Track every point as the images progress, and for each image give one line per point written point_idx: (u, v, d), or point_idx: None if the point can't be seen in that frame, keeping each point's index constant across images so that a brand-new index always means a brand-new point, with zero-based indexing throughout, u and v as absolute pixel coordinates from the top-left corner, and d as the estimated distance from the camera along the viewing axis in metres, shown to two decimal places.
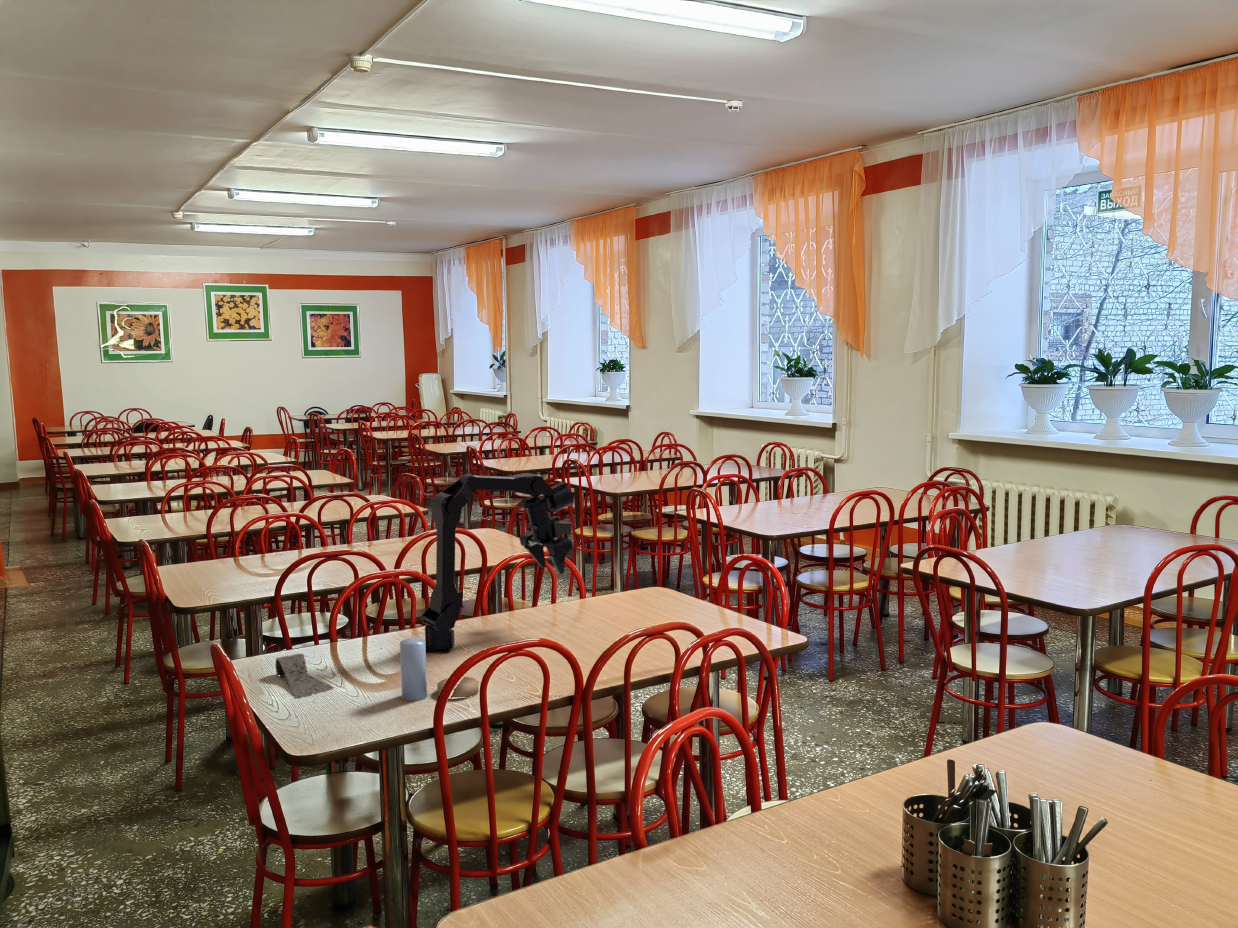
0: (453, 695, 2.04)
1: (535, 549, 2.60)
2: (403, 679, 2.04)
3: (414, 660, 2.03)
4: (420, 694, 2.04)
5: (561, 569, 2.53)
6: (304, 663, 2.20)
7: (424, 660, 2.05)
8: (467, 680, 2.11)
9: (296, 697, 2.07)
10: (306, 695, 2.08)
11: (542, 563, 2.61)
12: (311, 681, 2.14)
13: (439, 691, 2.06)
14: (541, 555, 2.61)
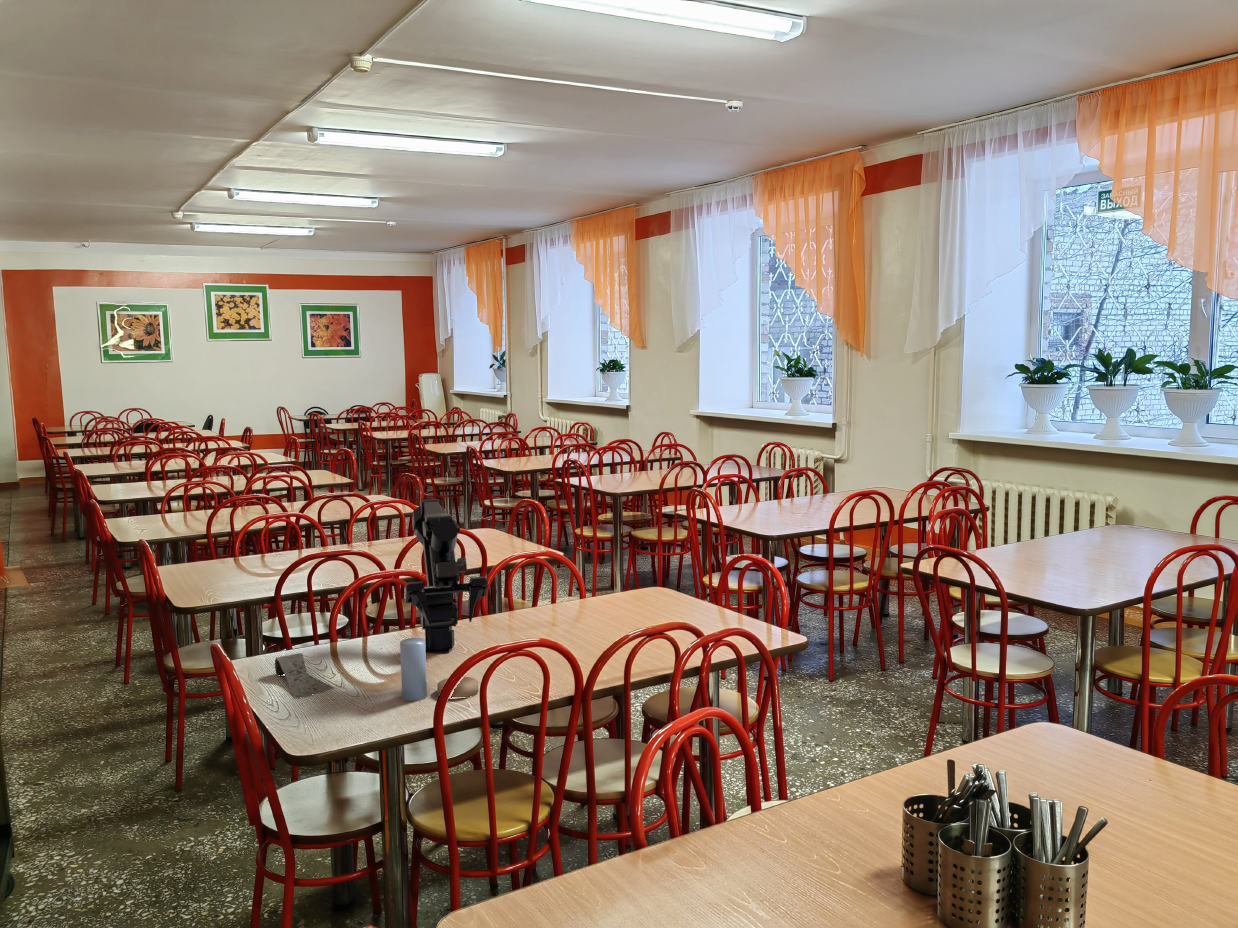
0: (453, 695, 2.04)
1: None
2: (403, 679, 2.04)
3: (414, 660, 2.03)
4: (420, 694, 2.04)
5: (426, 619, 2.13)
6: (303, 663, 2.20)
7: (424, 660, 2.05)
8: (467, 680, 2.11)
9: (295, 696, 2.07)
10: (305, 695, 2.08)
11: (469, 616, 2.16)
12: (310, 681, 2.14)
13: (439, 691, 2.06)
14: (469, 607, 2.17)
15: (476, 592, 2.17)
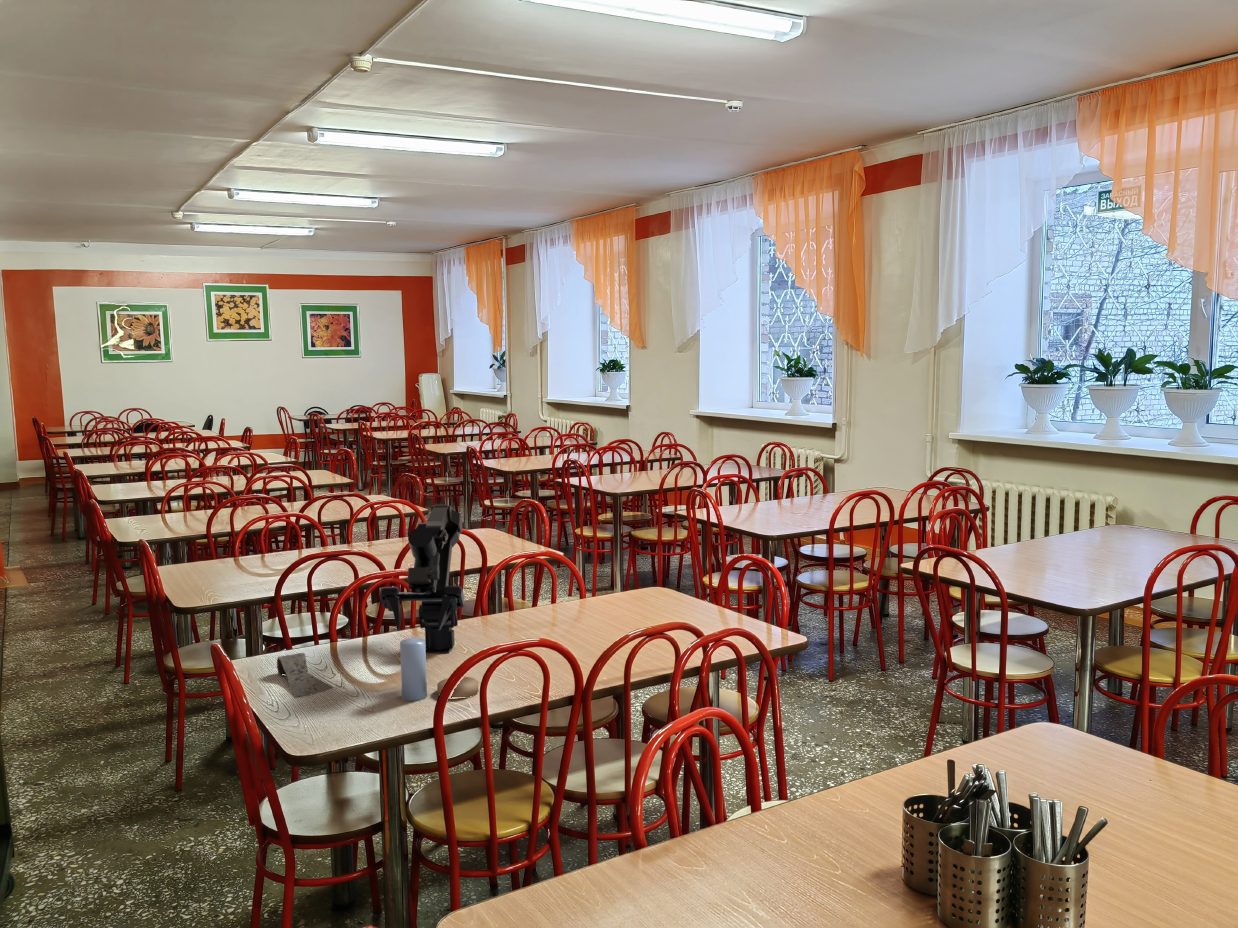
0: (453, 695, 2.04)
1: None
2: (403, 679, 2.04)
3: (414, 660, 2.03)
4: (420, 694, 2.04)
5: (396, 624, 2.13)
6: (305, 662, 2.20)
7: (424, 660, 2.05)
8: (467, 680, 2.11)
9: (295, 696, 2.07)
10: (305, 694, 2.08)
11: None
12: (311, 680, 2.14)
13: (439, 691, 2.06)
14: None
15: (448, 600, 2.14)
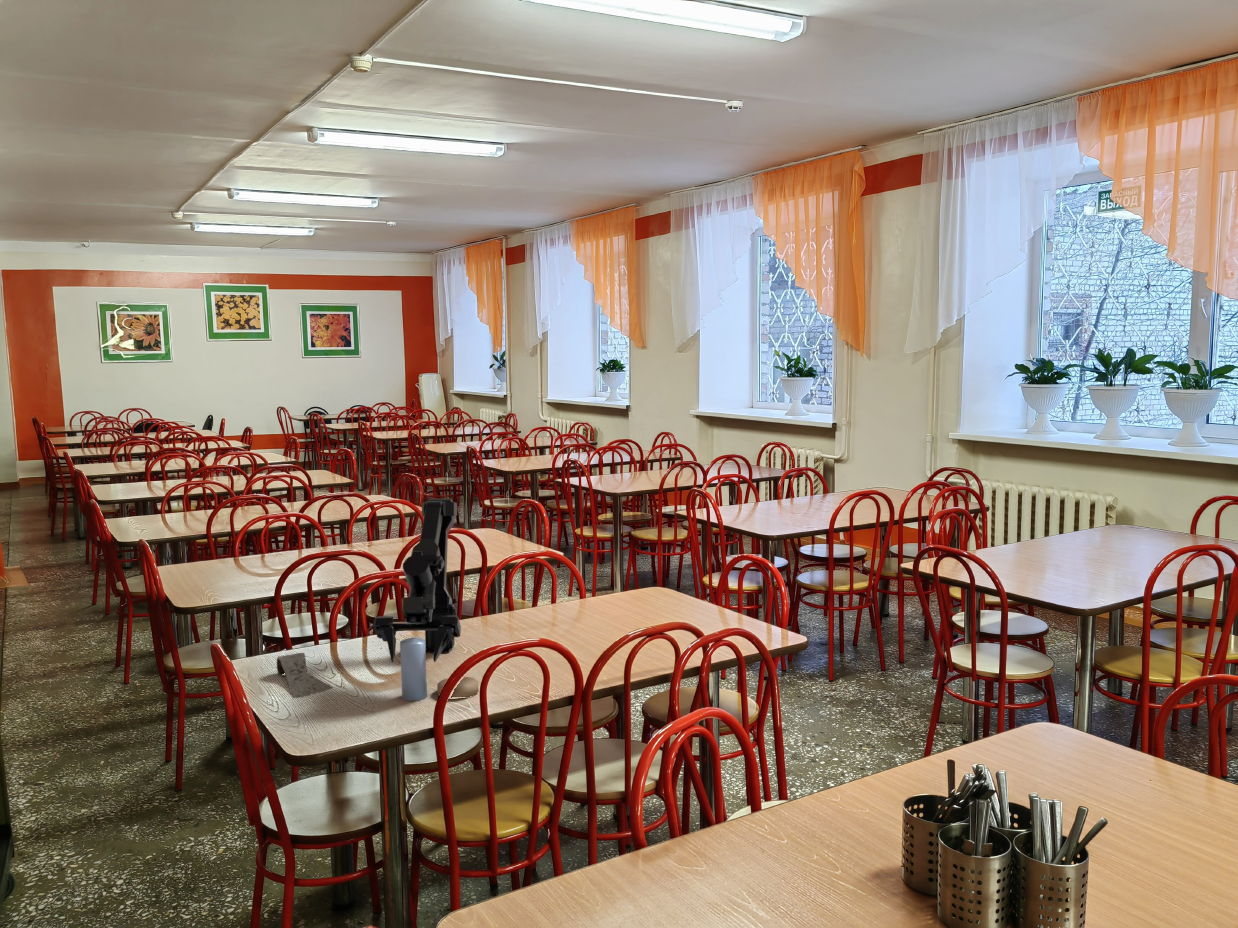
0: (453, 695, 2.04)
1: None
2: (403, 679, 2.04)
3: (414, 660, 2.03)
4: (420, 694, 2.04)
5: None
6: (304, 662, 2.21)
7: (424, 660, 2.05)
8: (467, 680, 2.11)
9: (294, 696, 2.07)
10: (304, 694, 2.08)
11: None
12: (310, 680, 2.14)
13: (439, 691, 2.06)
14: None
15: (444, 630, 2.08)
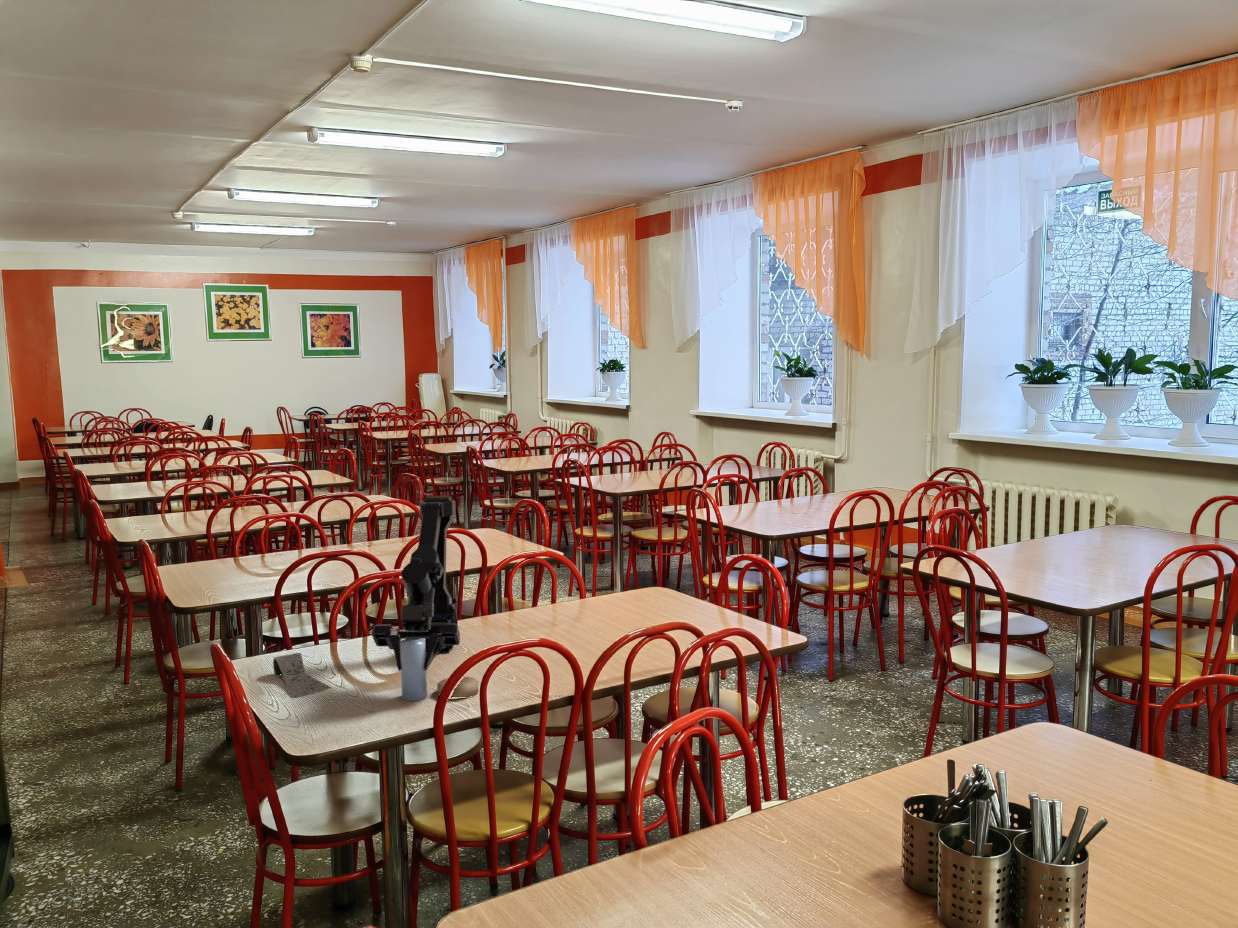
0: (453, 695, 2.04)
1: None
2: (403, 679, 2.04)
3: (414, 660, 2.03)
4: (420, 694, 2.04)
5: (397, 664, 2.05)
6: (301, 662, 2.20)
7: (424, 660, 2.05)
8: (467, 680, 2.11)
9: (292, 696, 2.07)
10: (302, 694, 2.08)
11: None
12: (308, 680, 2.14)
13: (439, 691, 2.06)
14: None
15: (435, 639, 2.06)
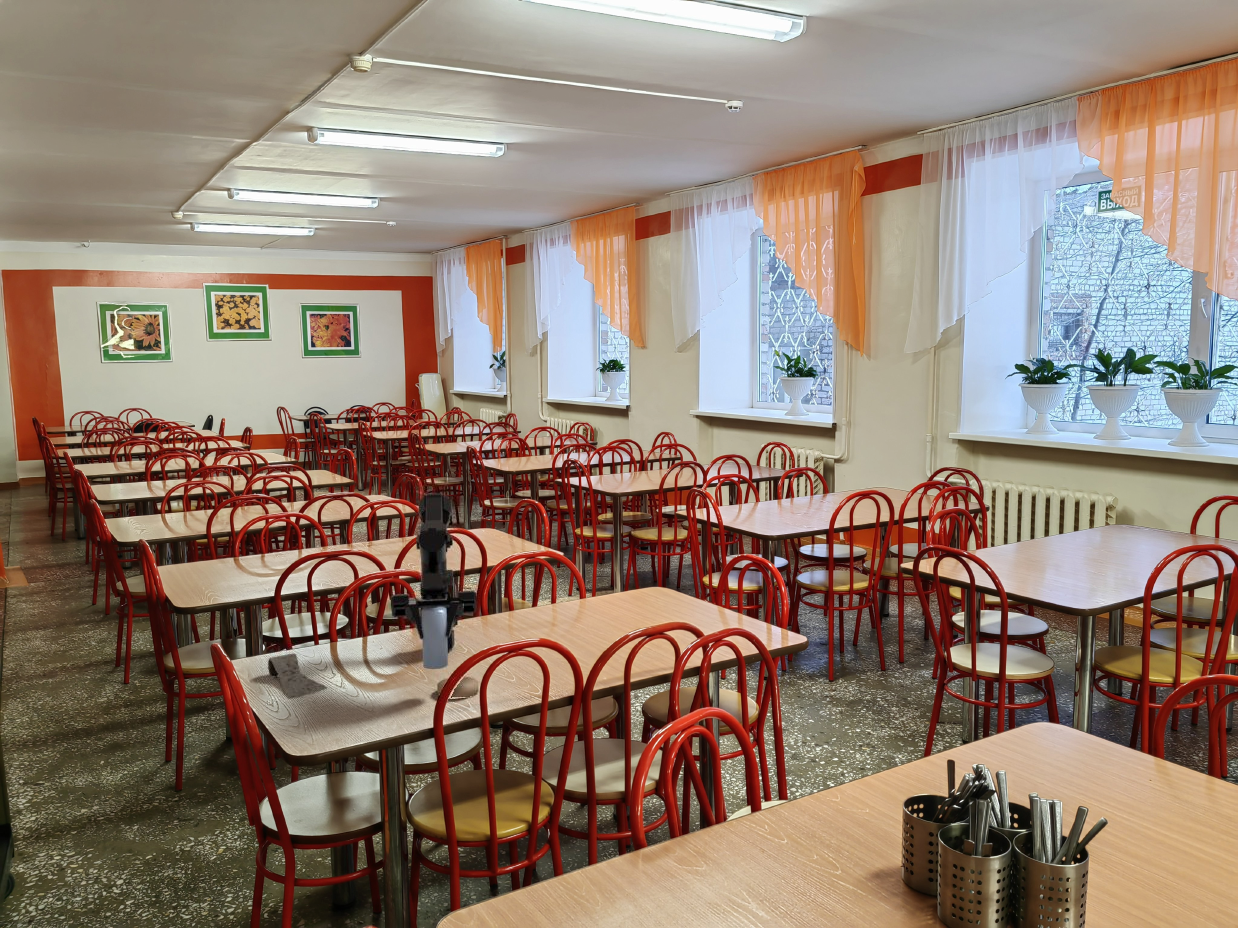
0: (453, 695, 2.04)
1: None
2: (425, 647, 2.04)
3: (438, 628, 2.03)
4: (442, 661, 2.05)
5: (418, 633, 2.05)
6: (297, 663, 2.20)
7: (446, 628, 2.05)
8: (467, 680, 2.11)
9: (289, 696, 2.07)
10: (299, 695, 2.08)
11: (447, 631, 2.06)
12: (304, 681, 2.14)
13: (439, 691, 2.06)
14: None
15: (456, 606, 2.07)
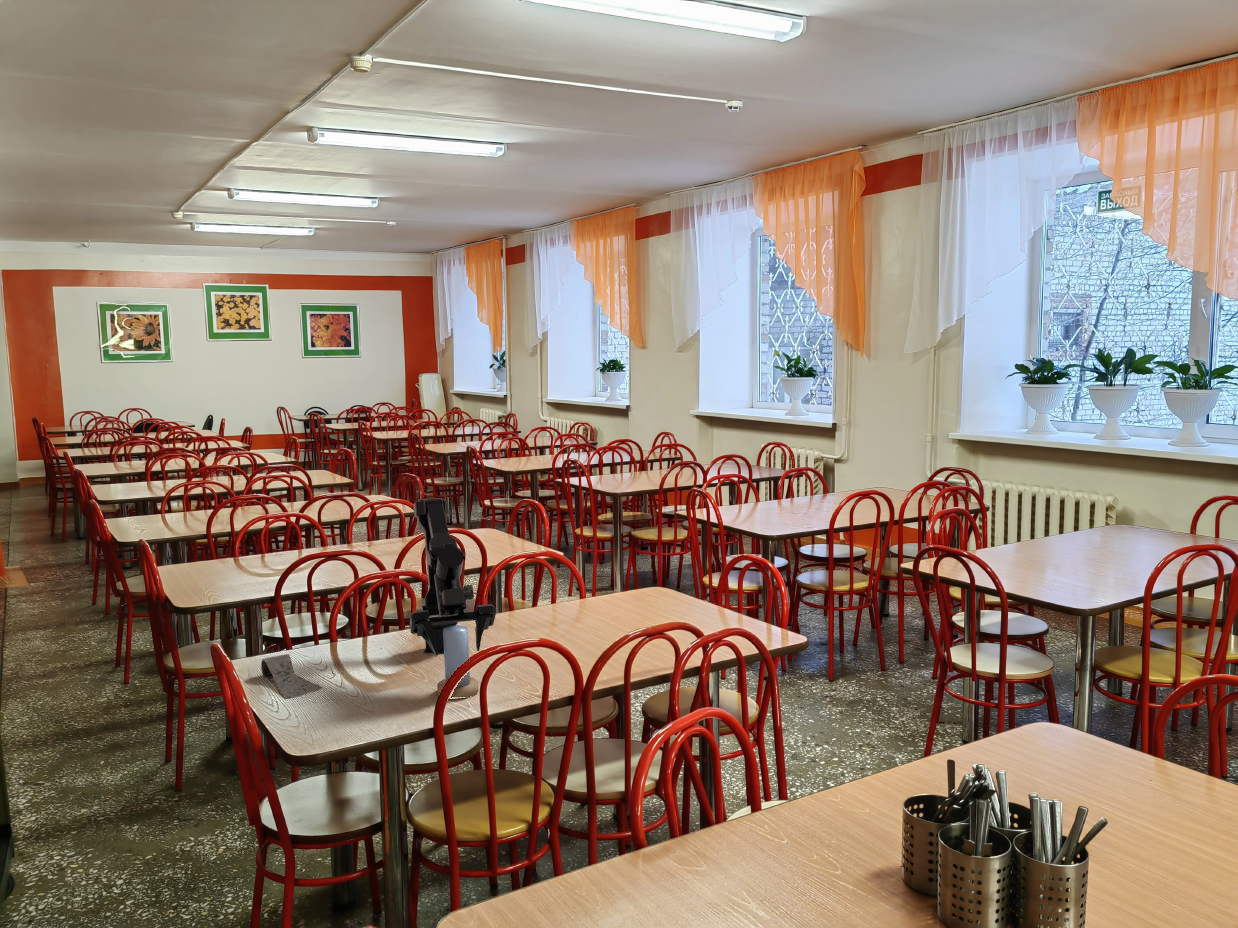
0: (453, 695, 2.04)
1: (476, 629, 2.12)
2: (449, 667, 2.06)
3: (461, 646, 2.06)
4: (466, 679, 2.07)
5: (433, 649, 2.06)
6: (291, 664, 2.20)
7: (468, 646, 2.08)
8: None
9: (285, 697, 2.06)
10: (295, 695, 2.08)
11: (476, 645, 2.09)
12: (299, 681, 2.14)
13: (439, 691, 2.06)
14: (476, 636, 2.10)
15: (484, 620, 2.10)
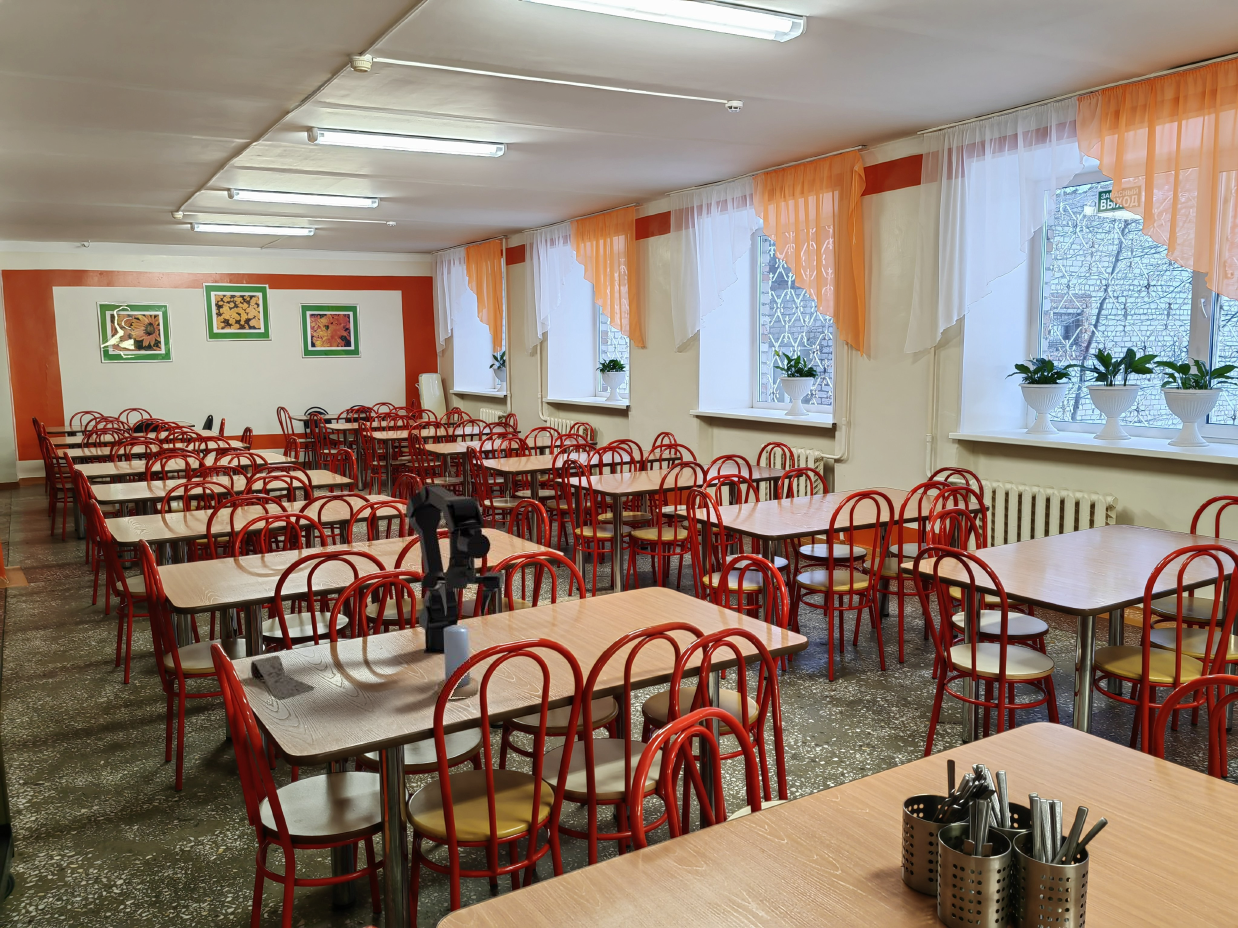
0: (453, 695, 2.04)
1: None
2: (449, 667, 2.06)
3: (462, 647, 2.06)
4: (466, 679, 2.07)
5: None
6: (281, 665, 2.19)
7: (468, 646, 2.08)
8: None
9: (279, 698, 2.06)
10: (289, 696, 2.07)
11: None
12: (291, 682, 2.13)
13: (439, 691, 2.06)
14: None
15: (488, 592, 2.20)
